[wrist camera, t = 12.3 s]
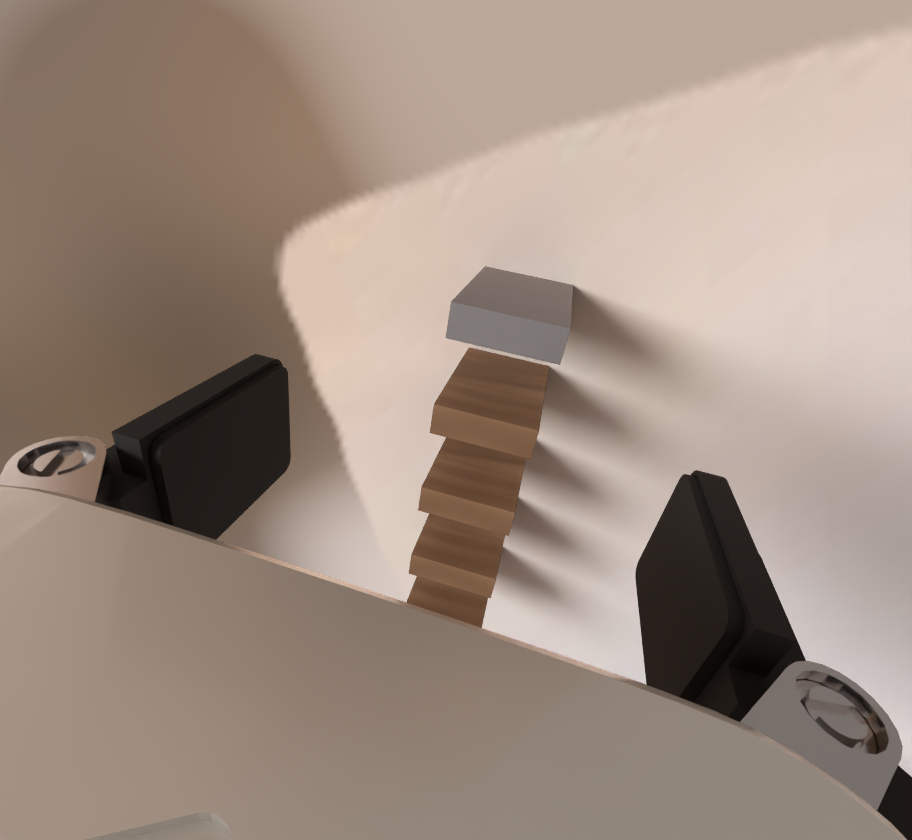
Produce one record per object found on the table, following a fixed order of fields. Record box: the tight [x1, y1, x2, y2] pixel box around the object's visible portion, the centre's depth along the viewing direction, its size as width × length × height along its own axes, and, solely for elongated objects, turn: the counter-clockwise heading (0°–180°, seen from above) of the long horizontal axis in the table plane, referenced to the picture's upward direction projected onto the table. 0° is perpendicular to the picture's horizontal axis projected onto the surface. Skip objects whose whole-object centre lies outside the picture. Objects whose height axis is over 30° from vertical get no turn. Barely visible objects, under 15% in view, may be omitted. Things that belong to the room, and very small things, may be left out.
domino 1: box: [446, 267, 573, 365], centre depth 23 cm, size 2×5×8 cm, turn 80°
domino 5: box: [407, 576, 488, 628], centre depth 33 cm, size 2×5×8 cm, turn 81°
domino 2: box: [430, 348, 549, 459], centre depth 25 cm, size 2×5×8 cm, turn 81°
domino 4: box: [409, 514, 505, 598], centre depth 30 cm, size 2×5×8 cm, turn 81°
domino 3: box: [418, 437, 525, 536], centre depth 28 cm, size 2×5×8 cm, turn 81°
